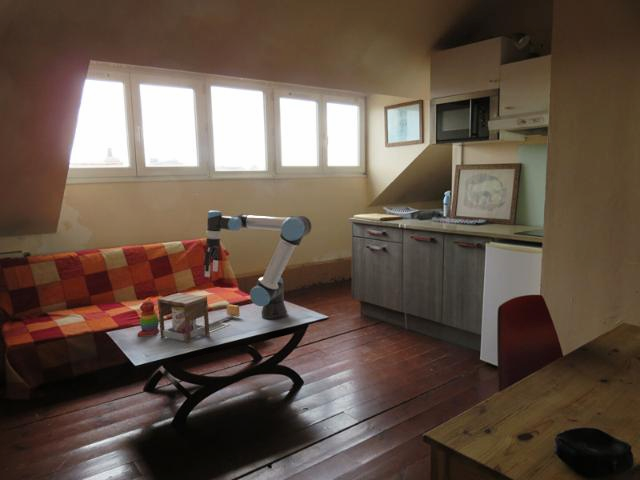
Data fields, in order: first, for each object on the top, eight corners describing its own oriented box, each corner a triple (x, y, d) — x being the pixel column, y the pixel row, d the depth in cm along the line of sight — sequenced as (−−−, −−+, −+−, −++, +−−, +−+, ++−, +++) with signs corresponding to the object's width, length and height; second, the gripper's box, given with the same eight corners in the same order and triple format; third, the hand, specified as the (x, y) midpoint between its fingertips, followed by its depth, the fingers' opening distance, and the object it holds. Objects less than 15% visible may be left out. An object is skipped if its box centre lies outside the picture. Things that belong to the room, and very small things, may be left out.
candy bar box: (172, 338, 233) (170, 307, 231) (176, 334, 238) (174, 304, 236) (193, 338, 232) (191, 307, 230) (197, 334, 237) (195, 304, 235)
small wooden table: (209, 335, 236) (207, 297, 233) (188, 343, 224) (185, 303, 221) (181, 329, 247) (179, 292, 244) (160, 337, 235) (157, 298, 232)
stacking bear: (144, 329, 248) (141, 298, 246) (162, 329, 248) (160, 297, 246) (136, 336, 238) (133, 303, 235) (155, 336, 237) (152, 303, 235)
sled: (244, 316, 263) (243, 306, 262) (183, 340, 225) (182, 329, 224) (225, 313, 271) (224, 303, 270) (163, 336, 233) (162, 325, 232)
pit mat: (229, 324, 252) (229, 323, 252) (207, 333, 238) (207, 333, 238) (209, 320, 261) (209, 320, 260) (186, 329, 246) (186, 328, 246)
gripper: (214, 233, 270) (212, 268, 273) (198, 240, 245) (196, 278, 249) (226, 235, 269) (224, 269, 273) (212, 242, 244) (210, 279, 248)
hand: (211, 273), depth 261 cm, fingers open, 13 cm apart
